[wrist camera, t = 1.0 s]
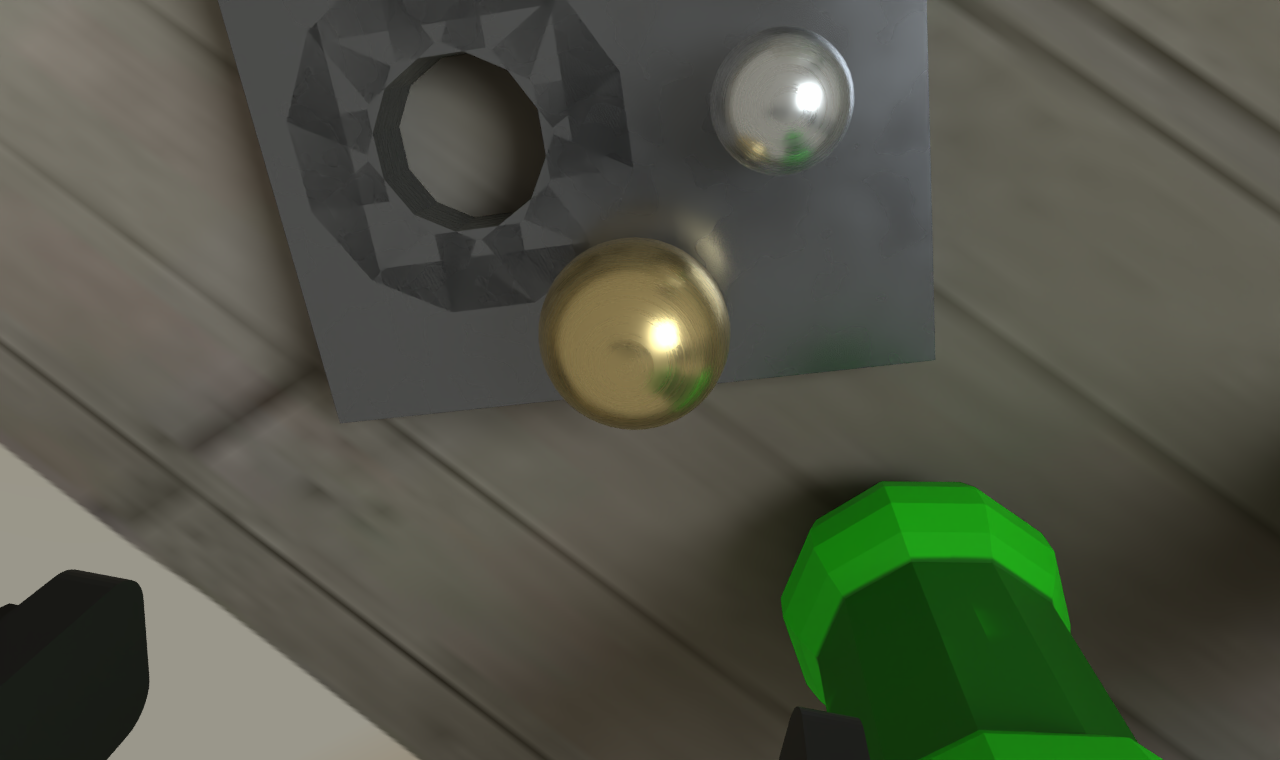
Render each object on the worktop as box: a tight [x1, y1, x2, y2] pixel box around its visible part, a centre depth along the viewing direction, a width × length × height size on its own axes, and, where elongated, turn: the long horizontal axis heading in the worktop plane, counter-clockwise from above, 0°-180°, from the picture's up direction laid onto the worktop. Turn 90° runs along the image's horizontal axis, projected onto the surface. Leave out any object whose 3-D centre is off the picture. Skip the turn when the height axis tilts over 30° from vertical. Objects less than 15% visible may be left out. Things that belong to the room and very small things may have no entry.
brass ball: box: [538, 237, 731, 430], centre depth 26 cm, size 6×6×6 cm
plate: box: [218, 0, 935, 423], centre depth 28 cm, size 21×18×2 cm
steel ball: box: [710, 26, 854, 176], centre depth 24 cm, size 4×4×4 cm
